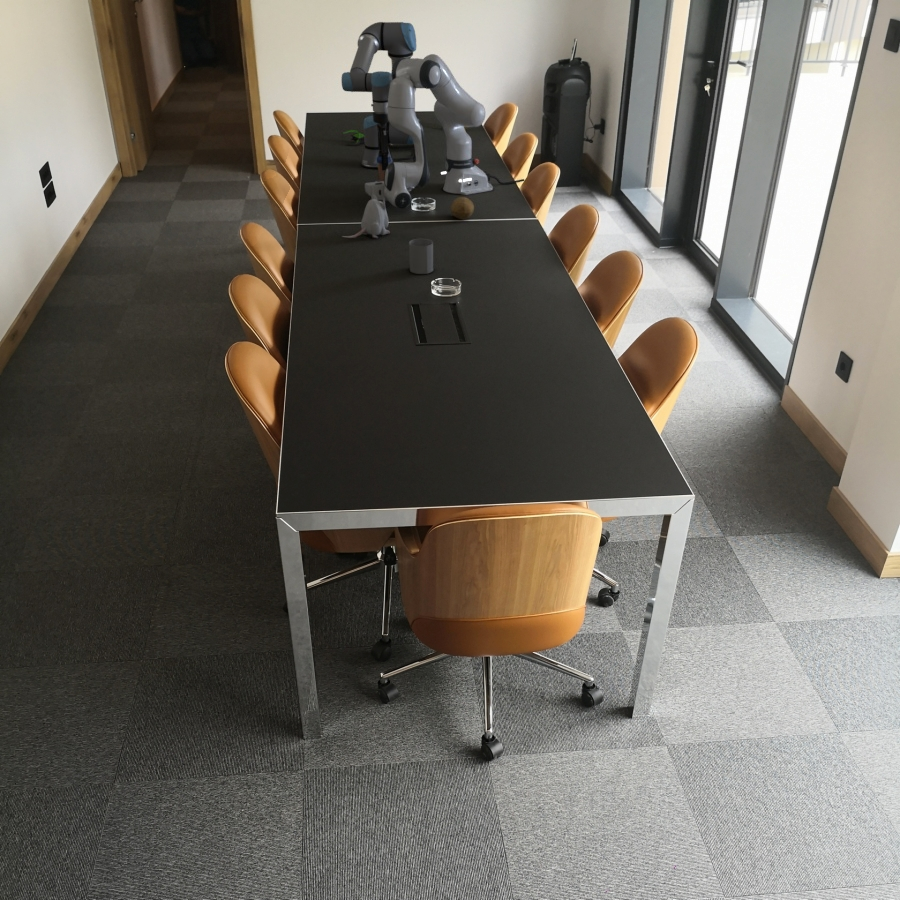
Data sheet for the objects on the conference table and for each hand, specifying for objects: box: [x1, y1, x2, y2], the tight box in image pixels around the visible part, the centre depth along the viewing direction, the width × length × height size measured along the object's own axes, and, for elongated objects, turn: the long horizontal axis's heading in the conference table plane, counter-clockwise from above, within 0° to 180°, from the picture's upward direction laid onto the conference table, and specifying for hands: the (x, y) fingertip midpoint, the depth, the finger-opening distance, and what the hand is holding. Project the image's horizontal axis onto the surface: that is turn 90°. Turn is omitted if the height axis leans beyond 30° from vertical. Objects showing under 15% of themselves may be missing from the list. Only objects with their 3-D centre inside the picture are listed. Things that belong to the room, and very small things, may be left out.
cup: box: [408, 237, 434, 275], centre depth 305 cm, size 8×8×10 cm
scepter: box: [341, 129, 365, 146], centre depth 464 cm, size 6×13×30 cm
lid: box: [377, 157, 392, 164], centre depth 375 cm, size 6×6×2 cm
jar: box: [377, 163, 389, 182], centre depth 379 cm, size 5×5×15 cm
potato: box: [450, 196, 475, 220], centre depth 355 cm, size 10×14×8 cm
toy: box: [341, 194, 391, 239], centre depth 332 cm, size 9×24×15 cm, turn 137°
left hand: (384, 167), depth 377 cm, fingers closed on lid, 6 cm apart
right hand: (383, 181), depth 380 cm, fingers closed on jar, 5 cm apart
